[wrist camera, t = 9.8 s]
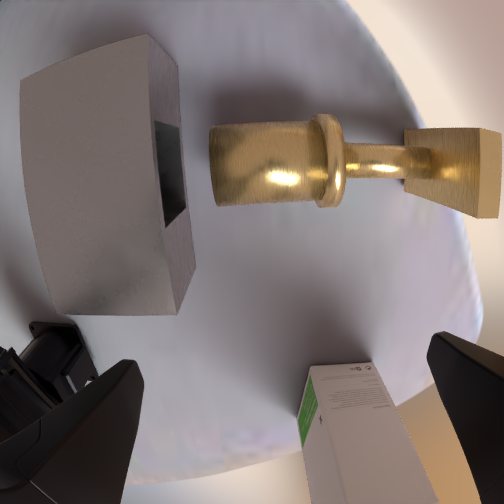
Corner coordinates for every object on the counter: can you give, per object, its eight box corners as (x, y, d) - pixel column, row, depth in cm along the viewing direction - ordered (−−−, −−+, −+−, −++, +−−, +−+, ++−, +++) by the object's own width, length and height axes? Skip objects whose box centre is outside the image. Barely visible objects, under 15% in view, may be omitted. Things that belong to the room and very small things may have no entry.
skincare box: (309, 362, 24) (350, 532, 9) (378, 359, 24) (447, 500, 9) (294, 421, 27) (314, 556, 12) (354, 416, 27) (392, 538, 12)
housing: (98, 272, 21) (56, 313, 15) (74, 92, 16) (20, 80, 10) (196, 267, 21) (177, 315, 15) (177, 66, 16) (147, 33, 10)
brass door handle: (223, 203, 19) (207, 241, 11) (217, 123, 17) (194, 104, 10) (423, 197, 19) (497, 225, 11) (423, 126, 17) (500, 125, 9)
